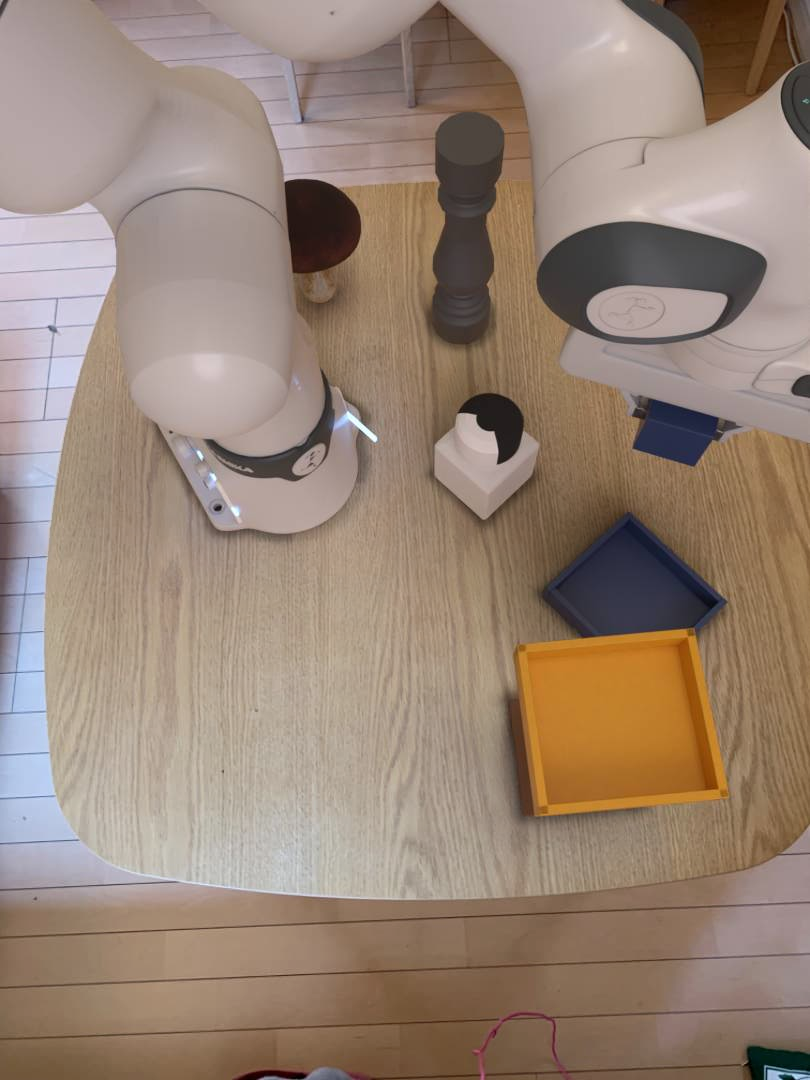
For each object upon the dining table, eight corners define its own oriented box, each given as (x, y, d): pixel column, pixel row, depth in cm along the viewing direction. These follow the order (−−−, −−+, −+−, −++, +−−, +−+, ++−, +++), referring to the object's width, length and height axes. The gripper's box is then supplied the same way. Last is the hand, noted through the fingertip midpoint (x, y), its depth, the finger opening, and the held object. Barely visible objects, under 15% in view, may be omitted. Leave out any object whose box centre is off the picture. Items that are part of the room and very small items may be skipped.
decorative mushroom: (356, 244, 96) (343, 140, 82) (380, 323, 92) (370, 228, 78) (261, 266, 95) (232, 165, 81) (282, 347, 92) (254, 256, 77)
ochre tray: (511, 824, 74) (540, 815, 54) (495, 696, 78) (517, 644, 58) (650, 811, 74) (729, 797, 54) (628, 684, 78) (694, 627, 58)
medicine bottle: (481, 431, 87) (488, 368, 76) (533, 475, 85) (548, 418, 74) (432, 475, 86) (432, 419, 75) (484, 522, 84) (491, 471, 73)
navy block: (631, 448, 67) (646, 418, 63) (646, 396, 69) (662, 363, 64) (694, 467, 67) (714, 438, 62) (708, 413, 68) (728, 381, 63)
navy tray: (541, 596, 81) (545, 586, 78) (622, 522, 83) (629, 510, 81) (636, 690, 78) (644, 684, 75) (718, 610, 80) (728, 601, 77)
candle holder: (453, 286, 94) (459, 97, 70) (500, 314, 92) (523, 130, 69) (420, 326, 92) (416, 146, 68) (467, 354, 91) (480, 180, 67)
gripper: (562, 312, 54) (536, 417, 67) (893, 403, 51) (798, 495, 64) (588, 235, 56) (558, 352, 69) (908, 318, 53) (814, 424, 66)
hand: (676, 421), depth 66 cm, fingers closed on navy block, 5 cm apart
